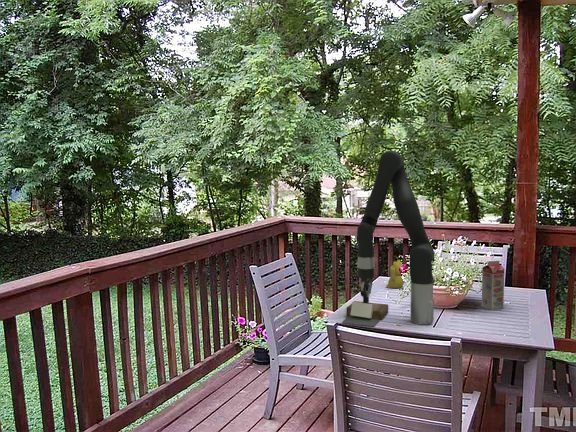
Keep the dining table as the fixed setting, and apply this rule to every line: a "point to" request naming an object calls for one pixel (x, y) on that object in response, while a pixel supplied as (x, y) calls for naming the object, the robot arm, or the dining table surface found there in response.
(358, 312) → the tile
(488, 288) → the juice carton
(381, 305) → the brown flat block
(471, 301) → the dining table surface
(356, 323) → the mat
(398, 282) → the figurine
